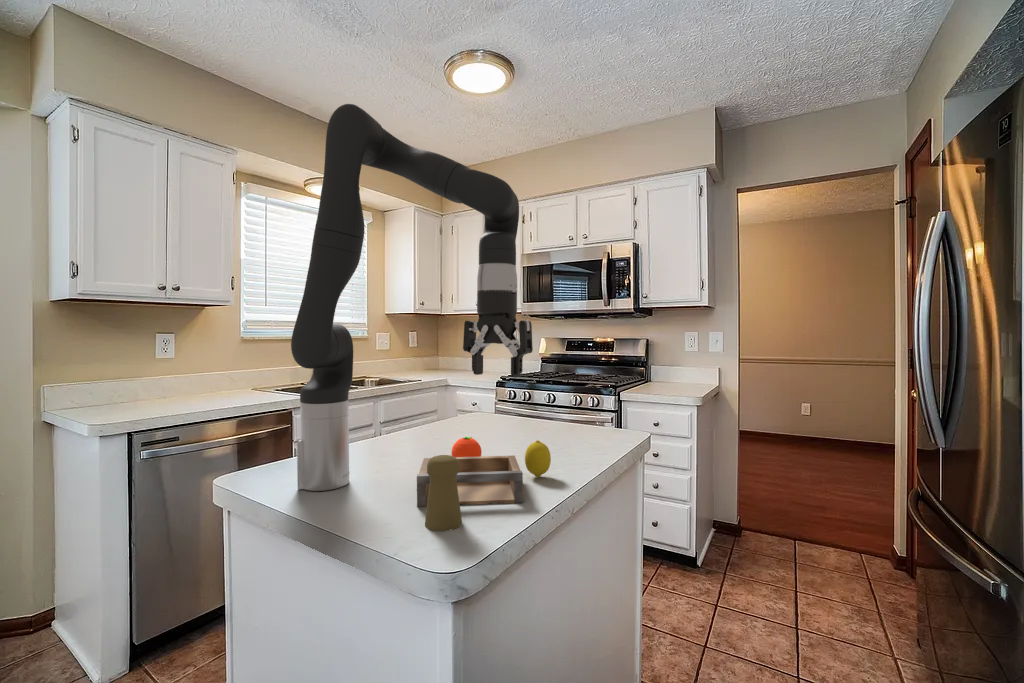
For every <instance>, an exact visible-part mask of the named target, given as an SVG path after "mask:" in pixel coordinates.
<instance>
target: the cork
mask: <svg viewBox="0 0 1024 683" xmlns="http://www.w3.org/2000/svg"><path fill="white" fill-rule="evenodd" d="M430 458H431V459H430V460H429V461H428V464H427V471H428V475H429V476H430V477H431V478H430V486H429V494H428V502H427V506H426V512H425V520H424V526H425V528H426V529H428V530H430V531H435V532H445V531H448V532H449V531H452V530H456V529H458V528H460V527H461V526H462V524H463V519H462V518H463V517H462V512H461V505H460V503H459V496H458V489H457V481H456V475H457V474H458V472H459V462H458V460H457V458H456V457H454V456H452V454H439V455H435V456H433V457H430Z"/></svg>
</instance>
